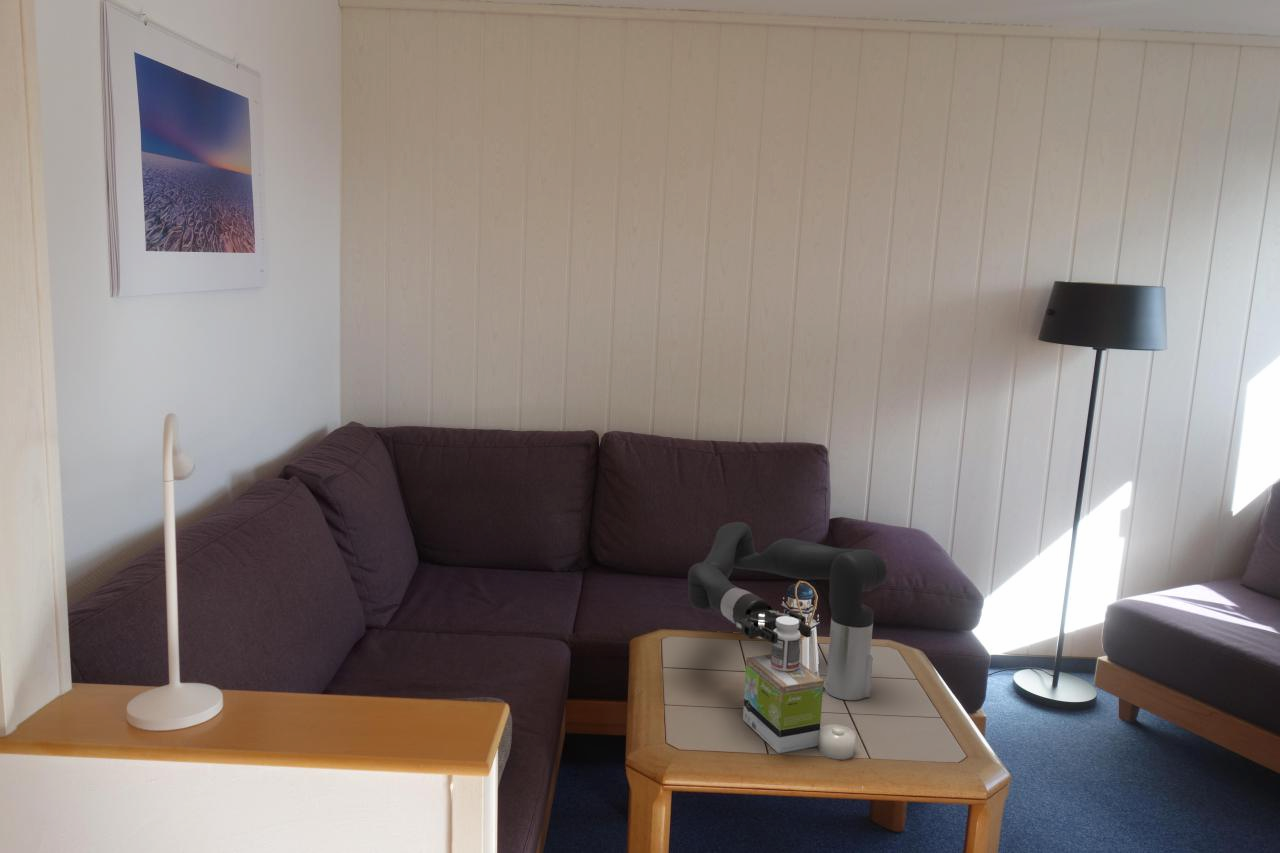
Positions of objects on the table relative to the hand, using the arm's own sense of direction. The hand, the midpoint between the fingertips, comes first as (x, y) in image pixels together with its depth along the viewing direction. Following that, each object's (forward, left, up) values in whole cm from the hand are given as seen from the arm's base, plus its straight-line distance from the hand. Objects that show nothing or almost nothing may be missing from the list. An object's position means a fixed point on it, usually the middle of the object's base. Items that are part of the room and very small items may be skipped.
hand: (793, 636), depth 199 cm
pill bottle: (+1, -2, -7) cm, 8 cm away
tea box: (+1, -2, -22) cm, 22 cm away
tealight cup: (-9, +5, -22) cm, 25 cm away
